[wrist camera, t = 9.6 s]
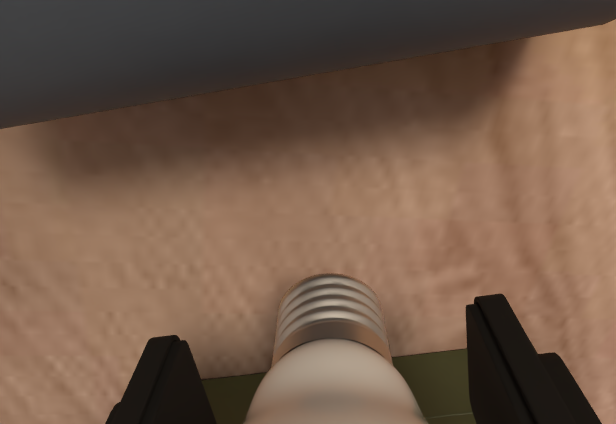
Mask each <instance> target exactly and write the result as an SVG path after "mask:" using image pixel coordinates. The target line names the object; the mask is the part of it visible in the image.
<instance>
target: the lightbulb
mask: <svg viewBox="0 0 616 424" xmlns="http://www.w3.org/2000/svg"><path fill="white" fill-rule="evenodd" d="M241 424H430V423H429V422H428V421H427V420H426V418H425V417H424V415H423V414H422V412H421V410H420V407H419V405H418V403H417V401H416V399H415V397H414V395H413V393H412V391H411V389H410V387H409V386H408V384H407V382H406V381H405V379H404V378H403V377H402V375H401V374H400V373H399V372H398V370H397V369H396V368H395V367H394V366H393V363H392V358H391V354H390V351H389V343H388V339H387V332H386V328H385V321H384V317H383V310H382V306H381V303H380V301H379V299H378V297H377V295H376V294H375V293H374V291H373V290H372V289H371V288H370V287H369V286H367V285H366V284H365V283H363V282H362V281H360V280H358V279H356V278H353V277H350V276H347V275H343V274H335V273H327V274H319V275H314V276H311V277H308V278H306V279H303V280H301V281H300V282H298V283H296V284H295V285H294V286H292V287H291V288H290V289H289V290H288V291H287V293H286V294H285V295H284V297H283V298H282V300H281V302H280V305H279V309H278V316H277V326H276V336H275V342H274V350H273V360H272V365H271V369H270V370H269V371H268V372H267V374H266V375H265V376H264V378H263V379H262V381H261V383H260V384H259V386H258V388H257V390H256V392H255V394H254V396H253V399H252V401H251V404H250V406H249V409H248V411H247V414H246V416H245V418H244V420H243V422H242V423H241Z"/></svg>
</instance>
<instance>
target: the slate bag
mask: <svg viewBox="0 0 616 424" xmlns="http://www.w3.org/2000/svg"><path fill="white" fill-rule="evenodd" d="M614 19H616V0H0V129H3V128H9V127H14V126H20V125H26V124H32V123H37V122H43V121H49V120H55V119H61V118H66V117H72V116H78V115H84V114H89V113H95V112H101V111H107V110H112V109H118V108H124V107H130V106H136V105H141V104H147V103H153V102H159V101H164V100H170V99H176V98H182V97H188V96H193V95H199V94H205V93H211V92H216V91H222V90H228V89H234V88H239V87H245V86H251V85H257V84H263V83H268V82H274V81H280V80H286V79H291V78H297V77H303V76H309V75H315V74H320V73H326V72H332V71H338V70H343V69H349V68H355V67H361V66H366V65H372V64H378V63H384V62H390V61H395V60H401V59H407V58H413V57H418V56H424V55H430V54H436V53H441V52H447V51H453V50H459V49H465V48H470V47H476V46H482V45H488V44H493V43H499V42H505V41H511V40H517V39H522V38H528V37H534V36H540V35H545V34H551V33H557V32H563V31H568V30H574V29H580V28H586V27H592V26H597V25H603V24H605V23H608V22H610V21H612V20H614Z"/></svg>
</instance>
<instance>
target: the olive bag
mask: <svg viewBox="0 0 616 424" xmlns="http://www.w3.org/2000/svg"><path fill="white" fill-rule="evenodd" d="M531 344H532V343H531ZM532 346H533V345H532ZM534 349H535V348H534ZM535 351H536V350H535ZM536 353H537V352H536ZM392 363H393V366H394V367H395V368H396V369H397V370H398V372H399V373H400V374H401V375H402V377H403V378H404V379H405V381H406V382H407V384H408V386H409V387H410V389H411V391H412V393H413V395H414V397H415V399H416V401H417V403H418V405H419V407H420V410H421V412H422V414H423V415H424V417H425V418H426V420H427V421H428V422H429V423H430V424H476V421H475V418H474V415H473V412H472V409H471V404H470V399H469V383H468V356H467V349H461V350H452V351H444V352H436V353H427V354H419V355H410V356H402V357H394V358H392ZM266 374H267V373H260V374H251V375H243V376H234V377H226V378H218V379H209V380H201V381H202V384H203V386H204V389H205V392H206V395H207V397H208V400H209V403H210V406H211V408H212V411H213V414H214V417H215V419H216V423H217V424H241V423H242V422H243V420H244V418H245V416H246V414H247V411H248V409H249V406H250V404H251V401H252V399H253V396H254V394H255V392H256V390H257V388H258V386H259V384H260V383H261V381H262V379H263V378H264V376H265V375H266Z"/></svg>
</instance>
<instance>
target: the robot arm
mask: <svg viewBox="0 0 616 424" xmlns="http://www.w3.org/2000/svg"><path fill="white" fill-rule="evenodd" d="M466 329H467V356H468V383H469V399H470V404H471V409H472V412H473V415H474V418H475V421H476V424H602V423H601V422H600V420H599V418H598V417H597V415H596V414H595V412H594V410H593V409H592V407H591V405H590V404H589V402H588V401H587V399H586V397H585V396H584V394H583V393H582V391H581V389H580V388H579V386H578V384H577V383H576V381H575V380H574V378H573V376H572V375H571V373H570V372H569V370H568V368H567V367H566V365H565V363H564V362H563V360H562V359H561V358H560V356H559V355H557V354H556V353H555V352H554V353H545V354H537V353H536V351H535V349H534V347H533V346H532V344H531V342H530V340H529V339H528V337H527V335H526V333H525V331H524V330H523V328H522V326H521V324H520V323H519V321H518V319H517V317H516V315H515V314H514V312H513V310H512V308H511V307H510V305H509V303H508V301H507V300H506V298H505V296H504V295H503V294H495V295H487V296H479V297H475V299H474V304H471V305H466ZM105 424H217V423H216V419H215V417H214V414H213V411H212V408H211V406H210V403H209V400H208V397H207V395H206V392H205V389H204V386H203V384H202V381H201V378H200V375H199V373H198V370H197V367H196V364H195V362H194V359H193V356H192V353H191V351H190V348H189V345H188V343H187V342H186V341H185V340H182V341H180V339H179V337H178V336H177V335H170V336H162V337H154V338H151V339H149V341H148V342H147V345H146V347H145V349H144V351H143V353H142V356H141V358H140V360H139V362H138V364H137V367H136V369H135V371H134V373H133V375H132V378H131V380H130V382H129V384H128V387H127V389H126V391H125V393H124V395H123V398H122V400H121V402H119V403H117V404H116V405H115V406H114V408H113V409H112V411H111V413H110V415H109V417H108V419H107V421H106V423H105Z"/></svg>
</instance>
